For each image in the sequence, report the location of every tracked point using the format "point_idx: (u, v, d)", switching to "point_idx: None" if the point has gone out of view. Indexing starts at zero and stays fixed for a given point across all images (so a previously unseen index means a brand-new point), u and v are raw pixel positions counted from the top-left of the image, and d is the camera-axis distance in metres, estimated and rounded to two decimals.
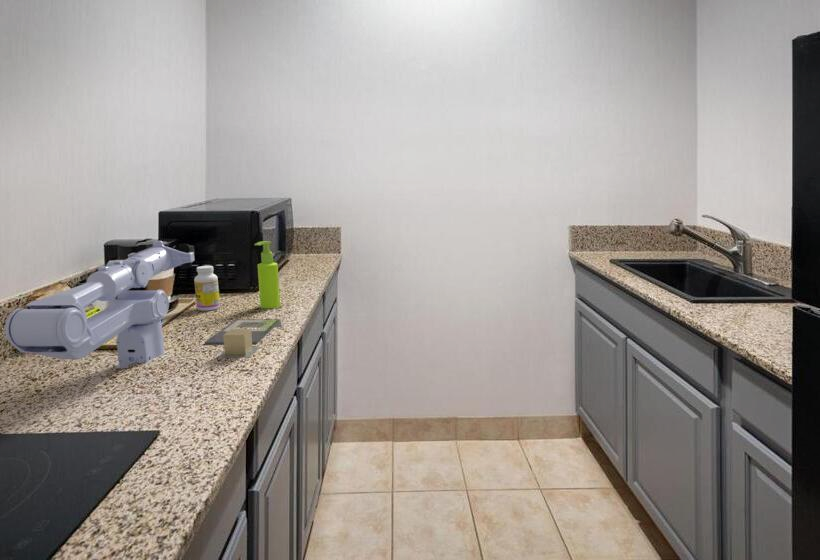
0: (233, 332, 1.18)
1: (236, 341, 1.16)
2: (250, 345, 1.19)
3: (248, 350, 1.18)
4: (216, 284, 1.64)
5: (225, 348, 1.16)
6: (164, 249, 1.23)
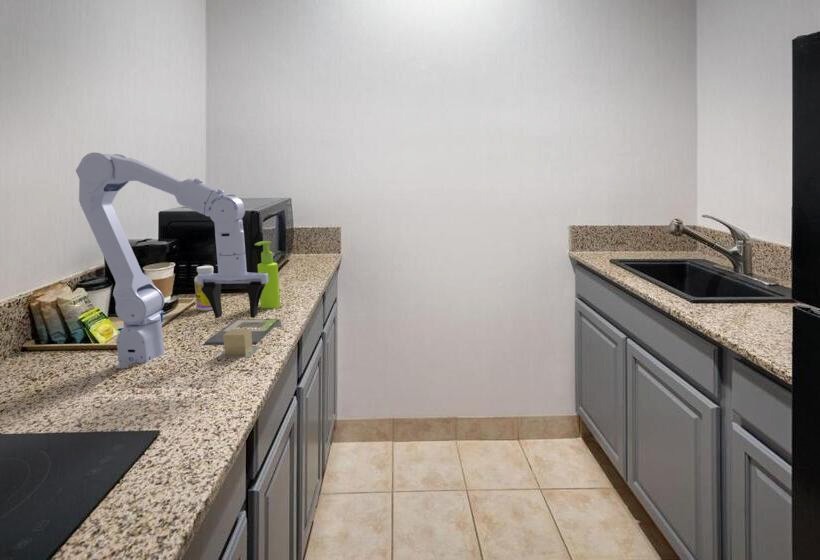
0: (233, 332, 1.18)
1: (236, 341, 1.16)
2: (250, 345, 1.19)
3: (248, 350, 1.18)
4: None
5: (225, 348, 1.16)
6: None
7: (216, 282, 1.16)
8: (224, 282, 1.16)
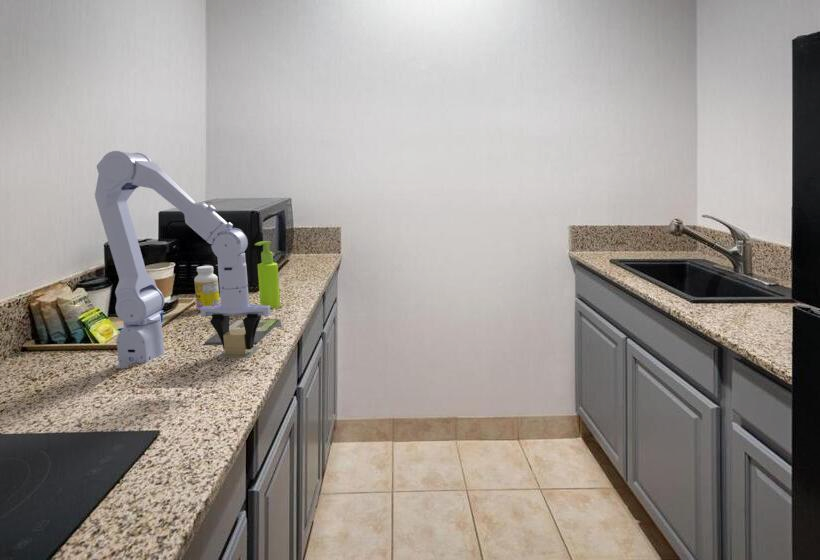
0: (233, 332, 1.18)
1: (236, 341, 1.16)
2: None
3: (248, 350, 1.18)
4: (216, 284, 1.64)
5: (225, 348, 1.16)
6: None
7: (219, 314, 1.17)
8: (227, 314, 1.17)
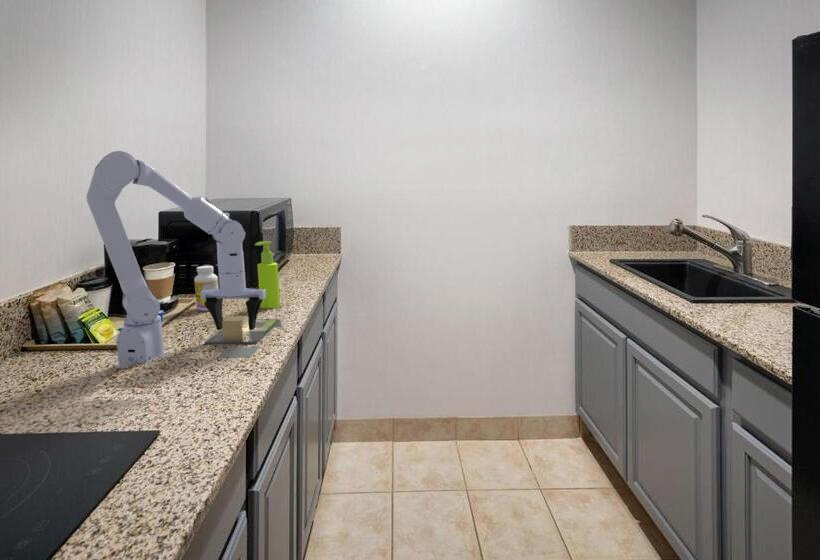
0: (231, 318, 1.27)
1: (234, 326, 1.26)
2: (247, 330, 1.29)
3: (245, 335, 1.28)
4: (216, 284, 1.64)
5: (224, 333, 1.26)
6: None
7: (218, 297, 1.27)
8: (225, 297, 1.27)
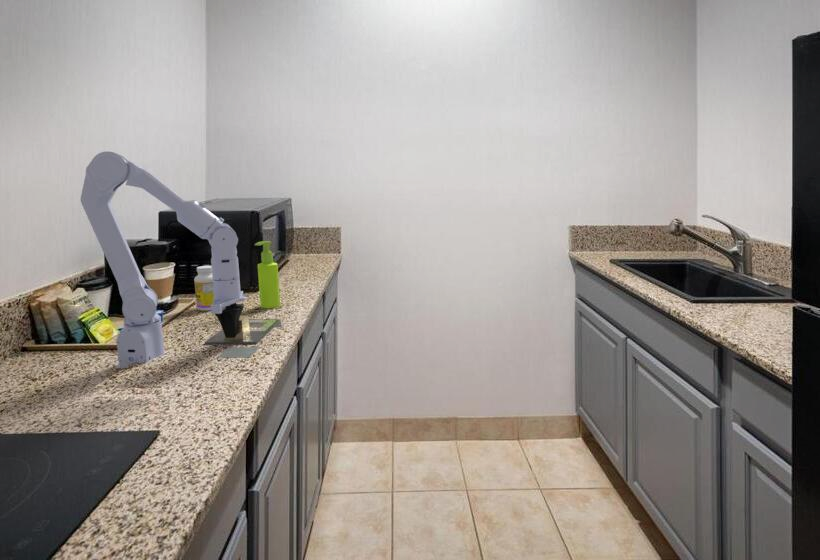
0: None
1: None
2: (247, 330, 1.29)
3: (245, 334, 1.28)
4: None
5: None
6: (234, 296, 1.21)
7: None
8: None
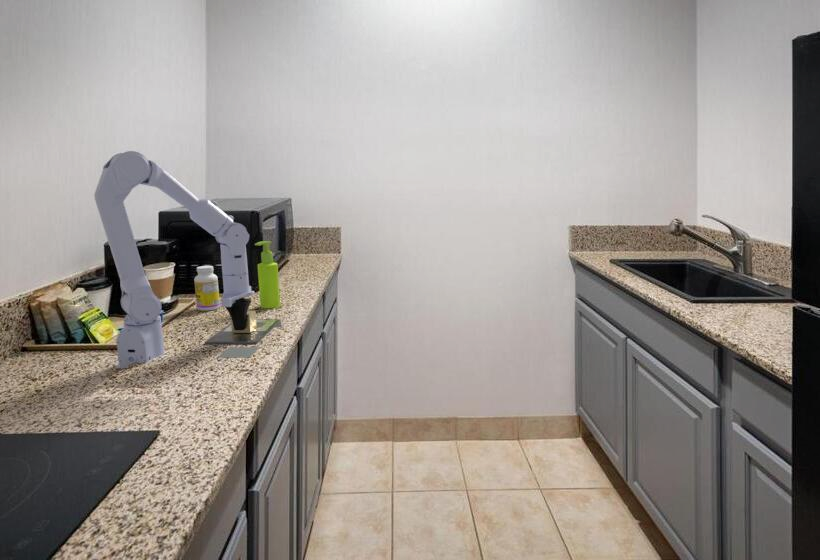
0: None
1: None
2: (254, 325, 1.34)
3: (252, 329, 1.33)
4: (216, 284, 1.64)
5: (232, 326, 1.31)
6: (243, 290, 1.27)
7: None
8: None
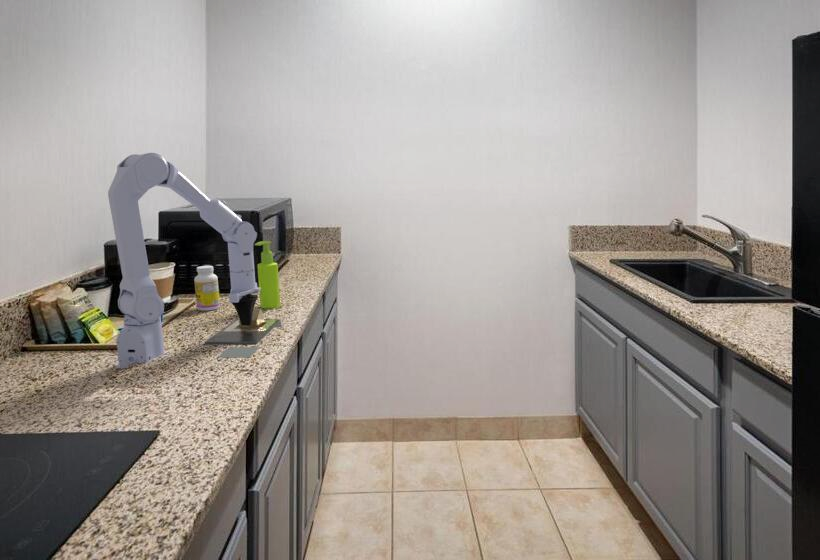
0: None
1: None
2: (260, 326, 1.38)
3: (258, 324, 1.37)
4: (216, 284, 1.64)
5: None
6: (250, 287, 1.31)
7: None
8: None
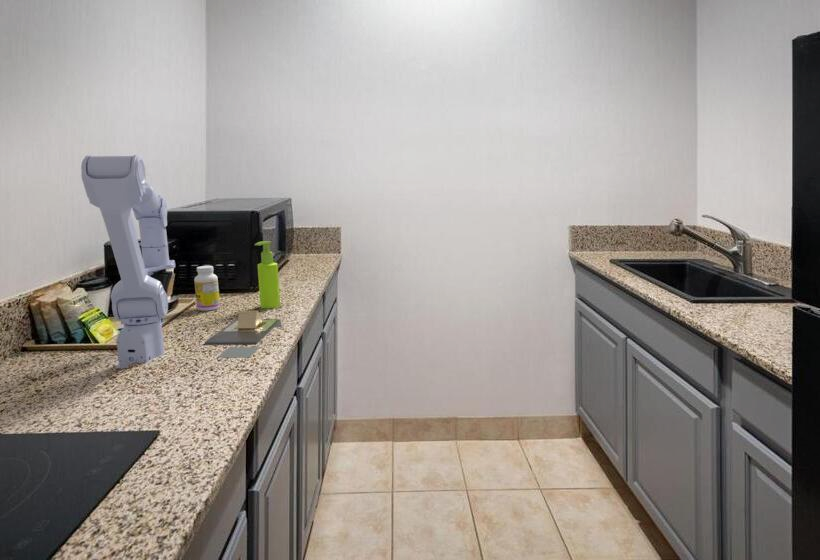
0: None
1: (249, 316, 1.36)
2: (259, 327, 1.38)
3: (257, 328, 1.36)
4: (216, 284, 1.64)
5: (238, 322, 1.35)
6: (161, 263, 1.29)
7: None
8: None
